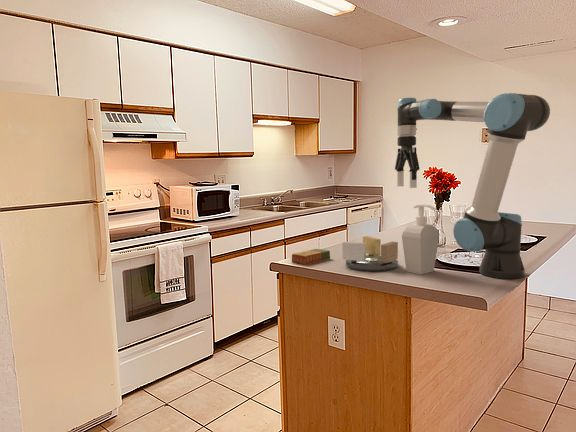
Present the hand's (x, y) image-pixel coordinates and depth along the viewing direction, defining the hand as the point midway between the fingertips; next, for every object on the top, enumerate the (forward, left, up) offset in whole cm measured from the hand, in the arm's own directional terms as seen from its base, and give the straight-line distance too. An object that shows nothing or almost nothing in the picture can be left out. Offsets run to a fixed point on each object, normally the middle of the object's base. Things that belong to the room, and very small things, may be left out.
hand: (406, 187), depth 189 cm
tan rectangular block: (-14, +12, -29) cm, 34 cm away
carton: (+6, +40, -32) cm, 52 cm away
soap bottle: (-21, +1, -32) cm, 38 cm away
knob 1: (-10, +25, -29) cm, 40 cm away
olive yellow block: (0, +15, -29) cm, 33 cm away
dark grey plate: (-8, +17, -31) cm, 37 cm away
